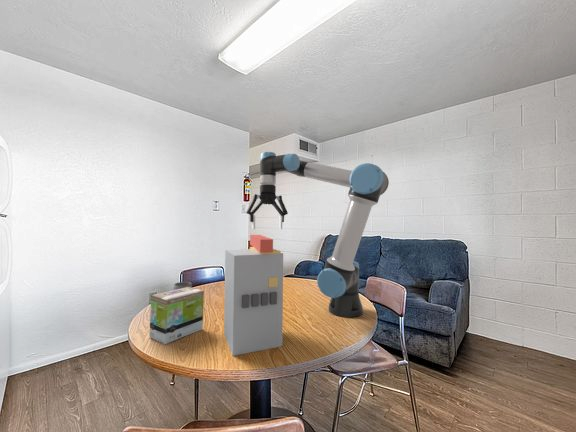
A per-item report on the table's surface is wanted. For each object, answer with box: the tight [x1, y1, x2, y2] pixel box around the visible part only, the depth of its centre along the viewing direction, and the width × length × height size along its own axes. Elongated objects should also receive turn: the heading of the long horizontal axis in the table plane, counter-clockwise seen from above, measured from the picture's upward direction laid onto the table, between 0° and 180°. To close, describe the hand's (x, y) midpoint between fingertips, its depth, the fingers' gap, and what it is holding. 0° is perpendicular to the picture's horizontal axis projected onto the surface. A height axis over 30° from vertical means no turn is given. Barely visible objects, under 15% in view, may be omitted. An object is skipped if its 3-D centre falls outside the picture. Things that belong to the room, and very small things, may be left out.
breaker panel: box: [223, 248, 284, 357], centre depth 87 cm, size 17×16×30 cm
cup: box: [173, 281, 193, 290], centre depth 123 cm, size 10×9×10 cm
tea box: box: [148, 287, 205, 345], centre depth 92 cm, size 15×10×15 cm, turn 148°
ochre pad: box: [249, 246, 282, 254], centre depth 90 cm, size 16×6×1 cm, turn 23°
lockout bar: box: [249, 234, 274, 253], centre depth 93 cm, size 28×4×4 cm, turn 15°
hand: (267, 229), depth 123 cm, fingers open, 13 cm apart
